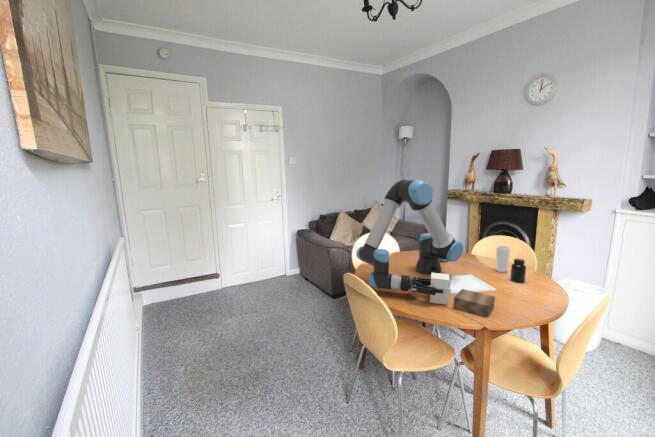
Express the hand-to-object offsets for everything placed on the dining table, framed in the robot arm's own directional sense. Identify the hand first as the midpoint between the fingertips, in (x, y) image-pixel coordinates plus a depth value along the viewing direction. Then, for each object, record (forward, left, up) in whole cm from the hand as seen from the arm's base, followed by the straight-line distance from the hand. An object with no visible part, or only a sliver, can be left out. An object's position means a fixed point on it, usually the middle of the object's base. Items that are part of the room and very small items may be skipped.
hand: (450, 288), depth 143 cm
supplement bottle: (+21, +49, -7) cm, 54 cm away
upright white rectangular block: (-4, -2, -7) cm, 8 cm away
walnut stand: (+11, 0, -7) cm, 12 cm away
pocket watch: (-24, +60, -7) cm, 66 cm away
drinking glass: (+11, +61, -7) cm, 63 cm away
